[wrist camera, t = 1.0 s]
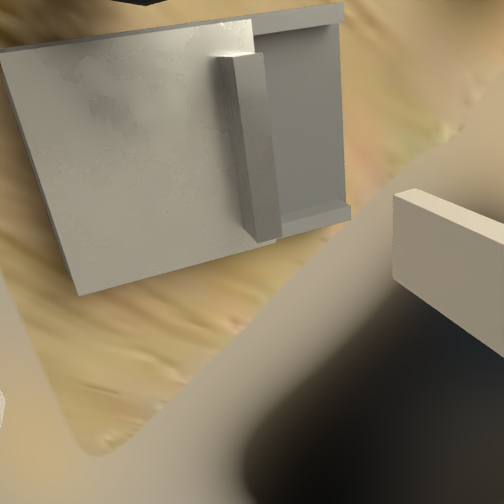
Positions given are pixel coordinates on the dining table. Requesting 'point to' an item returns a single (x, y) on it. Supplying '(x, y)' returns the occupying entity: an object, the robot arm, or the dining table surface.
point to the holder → (283, 110)
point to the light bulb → (140, 2)
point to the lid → (150, 148)
